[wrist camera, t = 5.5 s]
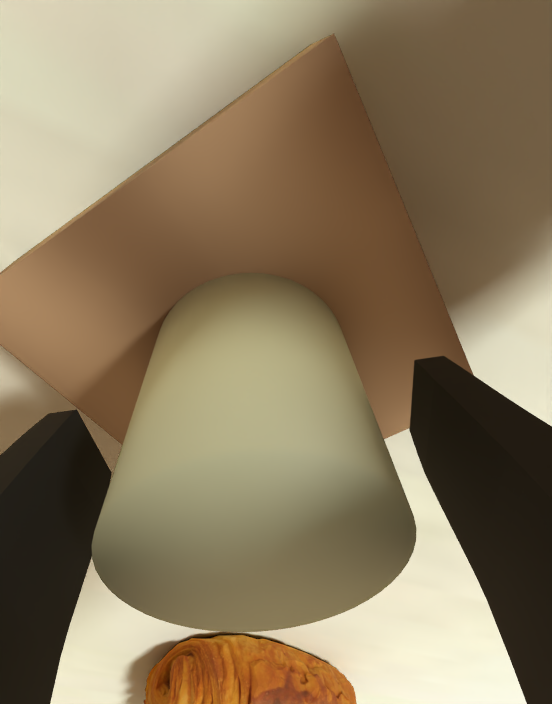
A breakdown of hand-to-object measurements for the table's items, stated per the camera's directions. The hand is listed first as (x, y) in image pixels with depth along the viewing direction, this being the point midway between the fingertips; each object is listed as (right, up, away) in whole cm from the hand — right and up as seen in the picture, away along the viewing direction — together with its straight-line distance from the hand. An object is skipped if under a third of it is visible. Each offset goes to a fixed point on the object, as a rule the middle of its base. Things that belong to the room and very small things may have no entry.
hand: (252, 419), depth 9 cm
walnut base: (0, +3, +4) cm, 5 cm away
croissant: (-2, -22, +22) cm, 31 cm away
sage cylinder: (0, +1, +2) cm, 2 cm away
